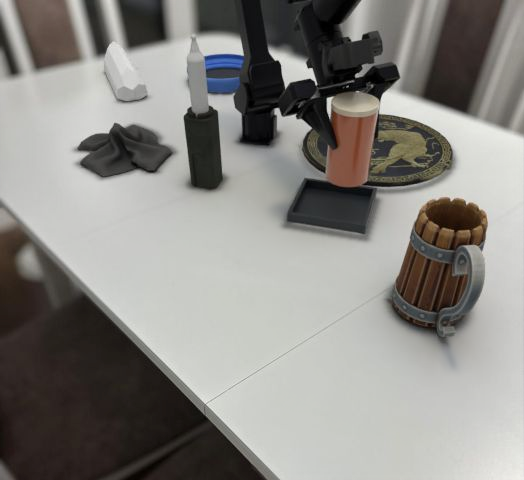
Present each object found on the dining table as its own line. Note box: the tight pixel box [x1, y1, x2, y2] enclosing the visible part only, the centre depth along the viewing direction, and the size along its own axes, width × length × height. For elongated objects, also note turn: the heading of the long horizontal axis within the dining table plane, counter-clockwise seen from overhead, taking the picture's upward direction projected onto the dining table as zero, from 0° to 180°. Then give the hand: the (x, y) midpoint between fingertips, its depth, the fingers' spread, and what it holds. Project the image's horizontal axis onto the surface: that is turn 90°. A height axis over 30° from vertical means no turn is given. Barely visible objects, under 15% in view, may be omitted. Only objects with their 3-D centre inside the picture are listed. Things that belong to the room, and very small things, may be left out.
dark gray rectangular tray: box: [286, 177, 378, 234], centre depth 92 cm, size 13×12×2 cm
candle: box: [183, 33, 224, 190], centre depth 91 cm, size 5×5×25 cm
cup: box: [324, 91, 381, 187], centre depth 82 cm, size 7×7×12 cm
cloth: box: [77, 122, 173, 177], centre depth 107 cm, size 22×19×6 cm
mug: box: [391, 196, 489, 338], centre depth 69 cm, size 16×11×15 cm
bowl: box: [186, 53, 244, 93], centre depth 133 cm, size 18×18×4 cm
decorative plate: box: [302, 113, 454, 188], centre depth 107 cm, size 30×2×30 cm
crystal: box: [103, 41, 149, 102], centre depth 131 cm, size 7×7×24 cm
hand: (355, 143), depth 81 cm, fingers closed on cup, 7 cm apart
